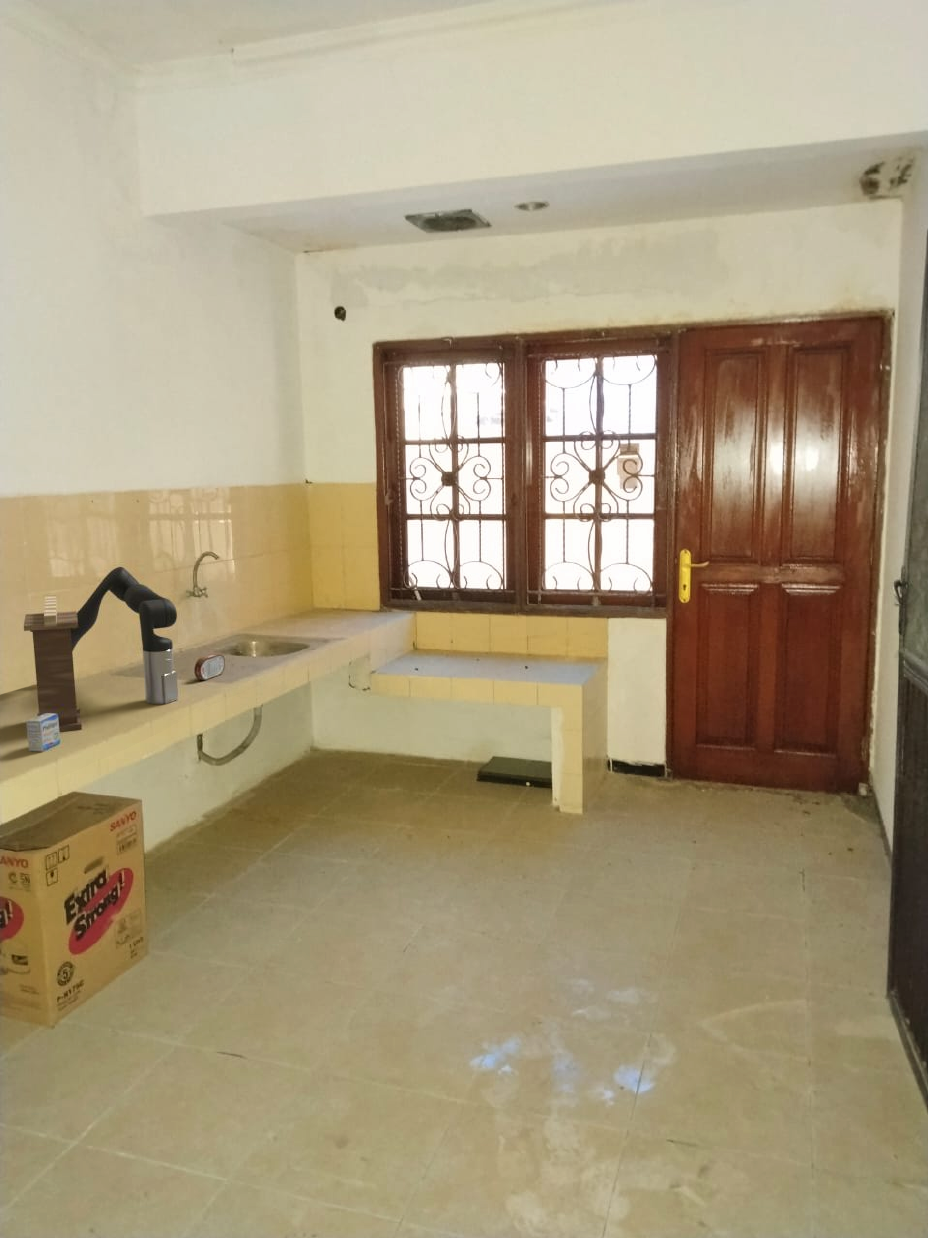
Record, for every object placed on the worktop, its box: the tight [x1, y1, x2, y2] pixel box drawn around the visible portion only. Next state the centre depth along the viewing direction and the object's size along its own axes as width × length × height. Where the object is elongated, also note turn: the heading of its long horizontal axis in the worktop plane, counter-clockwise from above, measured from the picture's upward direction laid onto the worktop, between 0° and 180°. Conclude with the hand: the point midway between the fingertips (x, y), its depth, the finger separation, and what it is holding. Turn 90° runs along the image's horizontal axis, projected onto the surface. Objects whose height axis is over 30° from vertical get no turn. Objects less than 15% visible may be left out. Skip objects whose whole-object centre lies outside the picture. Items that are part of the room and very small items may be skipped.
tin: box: [194, 652, 226, 681], centre depth 327 cm, size 15×3×8 cm, turn 159°
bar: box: [43, 594, 58, 627], centre depth 271 cm, size 40×3×3 cm, turn 24°
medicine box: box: [25, 713, 61, 753], centre depth 248 cm, size 8×4×9 cm, turn 170°
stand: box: [23, 610, 83, 733], centre depth 268 cm, size 20×14×32 cm
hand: (51, 615), depth 286 cm, fingers open, 8 cm apart
